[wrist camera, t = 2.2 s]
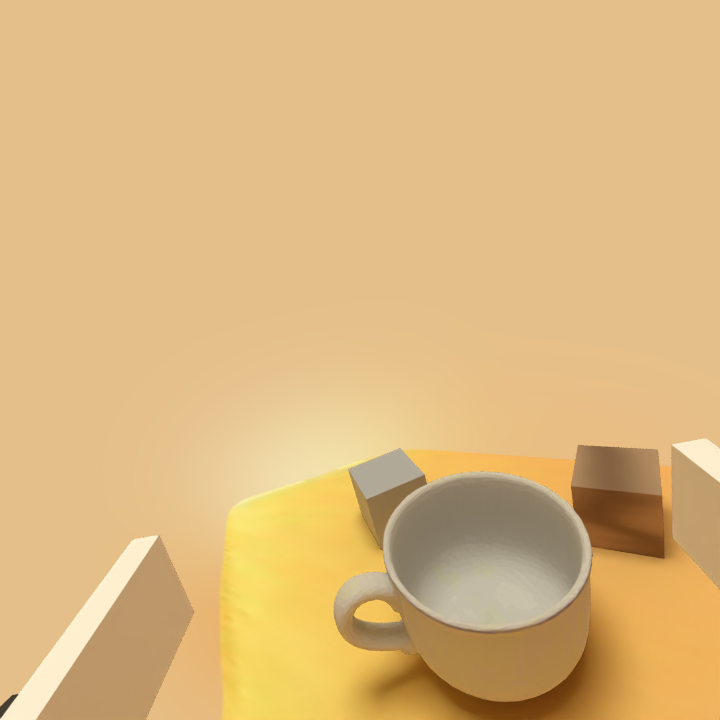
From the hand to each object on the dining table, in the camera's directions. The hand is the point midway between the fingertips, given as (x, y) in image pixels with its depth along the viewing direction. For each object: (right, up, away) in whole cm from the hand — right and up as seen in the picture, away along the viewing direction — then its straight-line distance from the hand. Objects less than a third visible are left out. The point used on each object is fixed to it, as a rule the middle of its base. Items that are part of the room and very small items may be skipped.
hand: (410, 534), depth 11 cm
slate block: (+2, -9, +27) cm, 28 cm away
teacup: (+5, -12, +15) cm, 20 cm away
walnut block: (+17, -7, +20) cm, 28 cm away
